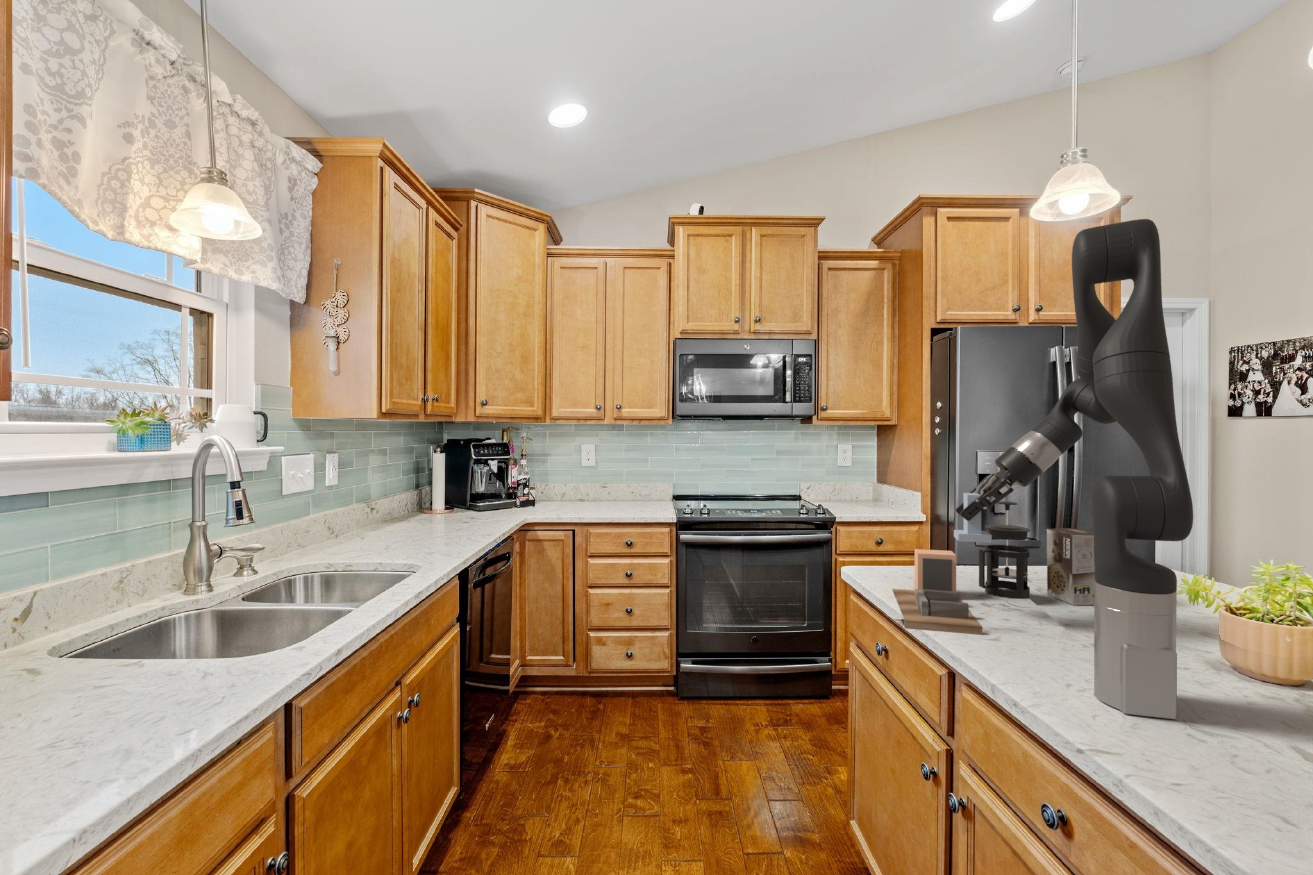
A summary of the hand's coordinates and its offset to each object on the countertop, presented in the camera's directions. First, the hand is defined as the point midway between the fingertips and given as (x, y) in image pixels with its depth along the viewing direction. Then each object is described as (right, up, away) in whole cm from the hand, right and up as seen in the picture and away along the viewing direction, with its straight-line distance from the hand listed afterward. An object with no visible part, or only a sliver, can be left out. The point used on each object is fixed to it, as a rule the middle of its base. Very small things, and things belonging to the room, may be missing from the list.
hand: (961, 515), depth 120 cm
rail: (-3, -22, +6) cm, 23 cm away
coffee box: (+34, -22, +14) cm, 43 cm away
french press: (+18, -22, +15) cm, 32 cm away
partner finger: (+1, -20, +14) cm, 25 cm away
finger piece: (+2, -5, -1) cm, 5 cm away
